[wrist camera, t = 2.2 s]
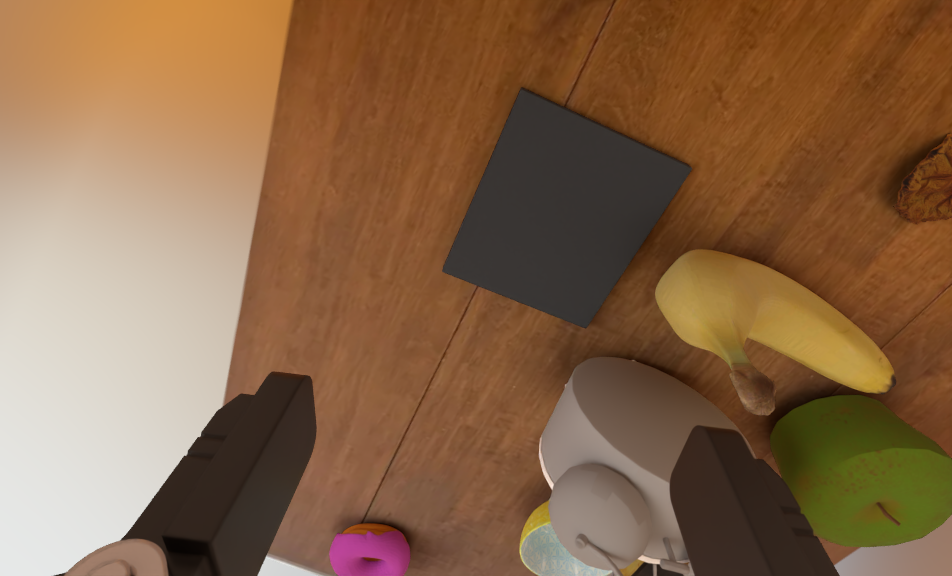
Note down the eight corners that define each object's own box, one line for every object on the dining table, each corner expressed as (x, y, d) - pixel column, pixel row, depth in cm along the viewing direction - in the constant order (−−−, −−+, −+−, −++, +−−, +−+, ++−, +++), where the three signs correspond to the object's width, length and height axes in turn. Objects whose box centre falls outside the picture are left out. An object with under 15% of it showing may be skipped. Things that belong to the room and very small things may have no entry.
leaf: (944, 228, 38) (965, 235, 36) (868, 214, 37) (886, 221, 35) (997, 144, 35) (1022, 148, 33) (916, 126, 34) (938, 130, 33)
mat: (443, 266, 42) (441, 272, 41) (521, 87, 34) (521, 88, 34) (584, 322, 44) (586, 328, 43) (688, 164, 36) (692, 168, 36)
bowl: (605, 464, 53) (616, 514, 48) (622, 526, 59) (633, 578, 53) (507, 479, 56) (507, 529, 50) (532, 537, 61) (534, 588, 56)
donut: (406, 567, 66) (399, 602, 62) (333, 552, 66) (322, 587, 62) (418, 523, 61) (412, 559, 57) (339, 507, 61) (327, 542, 57)
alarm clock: (526, 387, 49) (535, 629, 30) (559, 320, 44) (595, 553, 25) (674, 429, 50) (773, 685, 31) (720, 369, 46) (867, 622, 27)
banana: (869, 316, 42) (1118, 531, 25) (816, 361, 45) (1006, 583, 27) (658, 195, 38) (780, 352, 20) (614, 253, 40) (688, 434, 23)
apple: (856, 352, 44) (955, 450, 34) (910, 426, 48) (1011, 533, 38) (730, 416, 49) (784, 518, 39) (787, 479, 53) (850, 585, 43)
